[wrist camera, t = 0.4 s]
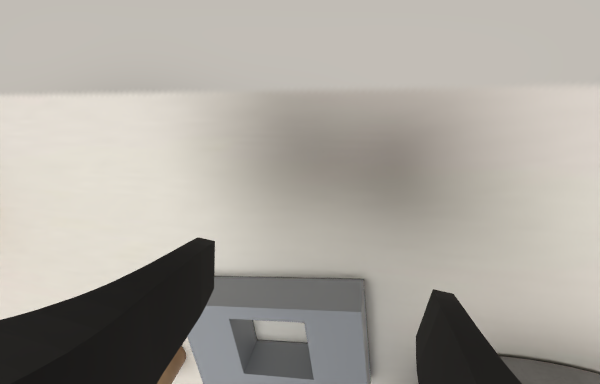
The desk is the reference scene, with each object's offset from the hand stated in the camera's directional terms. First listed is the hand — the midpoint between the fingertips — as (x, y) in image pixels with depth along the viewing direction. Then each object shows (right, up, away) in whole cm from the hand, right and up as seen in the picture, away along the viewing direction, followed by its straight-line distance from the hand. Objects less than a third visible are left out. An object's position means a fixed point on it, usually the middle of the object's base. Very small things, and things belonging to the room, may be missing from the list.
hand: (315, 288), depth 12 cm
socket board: (-2, -7, +15) cm, 16 cm away
